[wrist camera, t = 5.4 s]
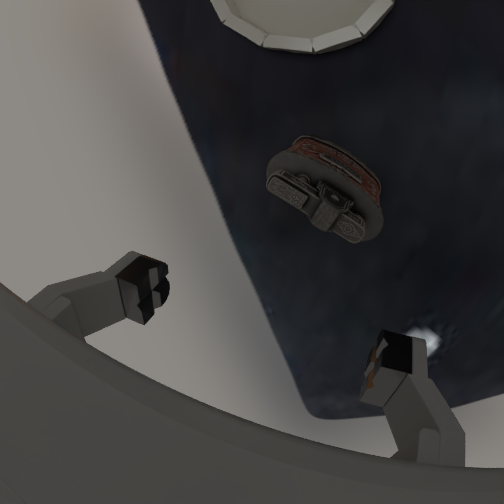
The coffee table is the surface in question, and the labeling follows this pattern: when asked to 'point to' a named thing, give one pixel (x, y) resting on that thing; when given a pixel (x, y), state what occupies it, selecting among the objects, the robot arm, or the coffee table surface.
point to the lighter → (328, 187)
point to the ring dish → (303, 22)
